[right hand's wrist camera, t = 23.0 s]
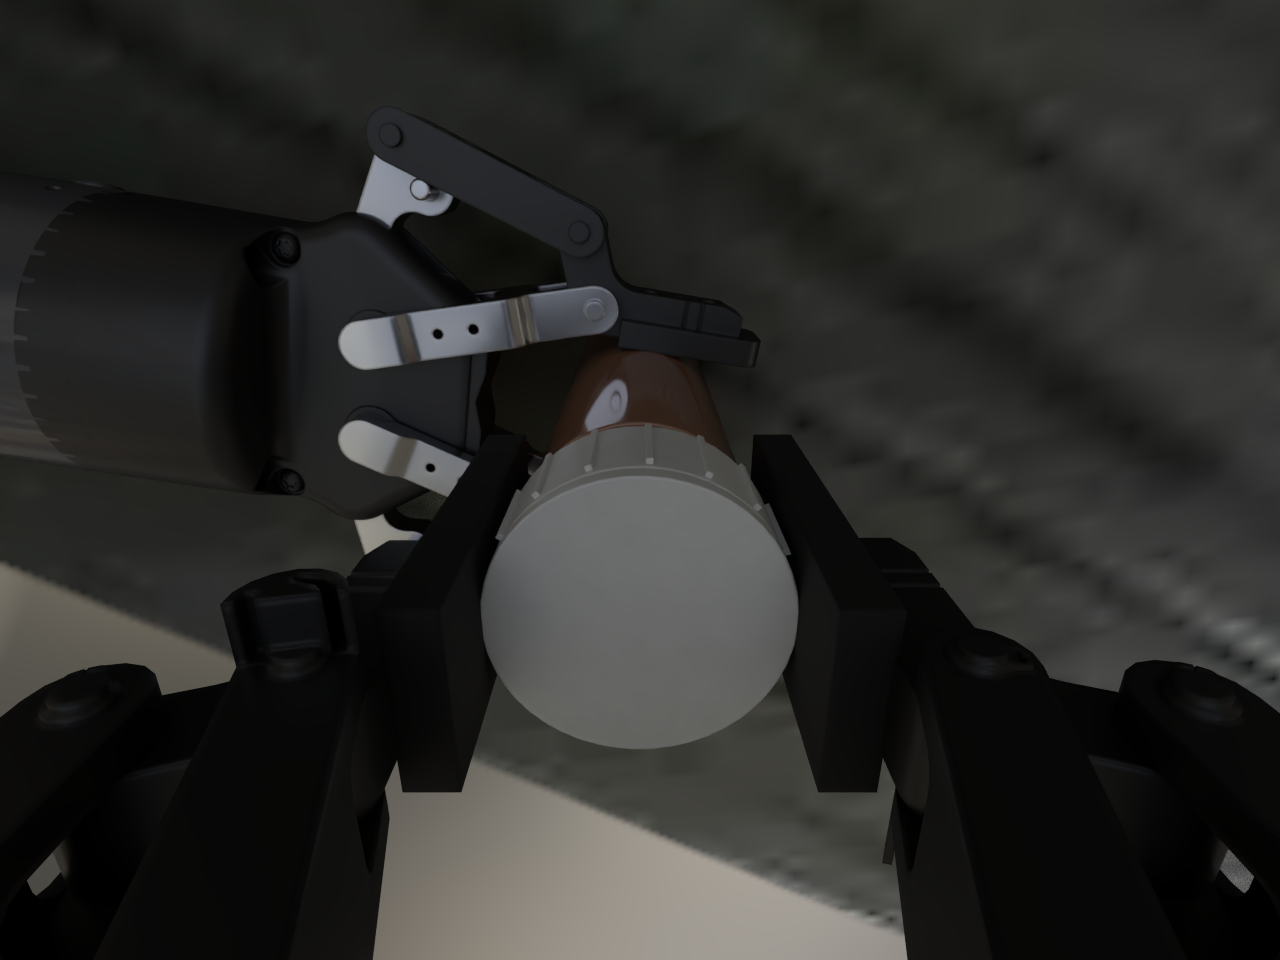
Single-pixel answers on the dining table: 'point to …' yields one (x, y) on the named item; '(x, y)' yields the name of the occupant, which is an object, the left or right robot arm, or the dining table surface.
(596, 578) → the lid
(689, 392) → the brown piece
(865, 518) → the dining table surface
